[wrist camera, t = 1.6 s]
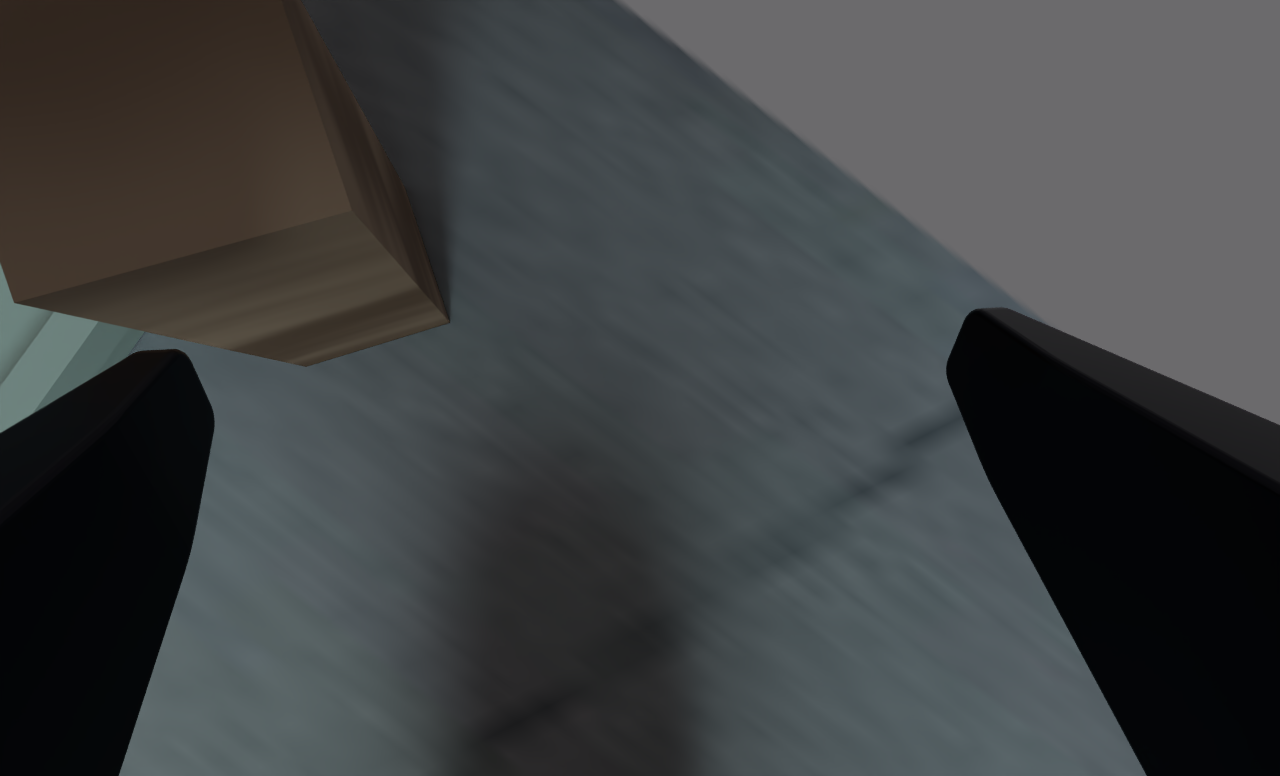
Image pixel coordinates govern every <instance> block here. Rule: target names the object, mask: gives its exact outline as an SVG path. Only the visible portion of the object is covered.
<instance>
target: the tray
mask: <svg viewBox="0 0 1280 776" xmlns="http://www.w3.org/2000/svg"><path fill="white" fill-rule="evenodd" d="M144 332H145V331H140V330H135V329H131V328H126V327H122V326H117V325H112V324H108V323H103V322H99V321H94V320H90V319H85V318H80V317H76V316H71V315H67V314H62V313H57V312H53V311H48V310H44V309H39V308H35V307H30V306H25V305H21V304H16V303H14V302H13V299H12V296H11V293H10V290H9V287H8V284H7V281H6V278H5V275H4V272H3V269H2V267H1V264H0V433H1V432H2V431H4V430H6V429H7V428H9V427H11V426H12V425H14V424H16V423H17V422H19V421H21V420H22V419H24V418H26V417H28V416H29V415H31V414H33V413H34V412H36V411H38V410H39V409H41V408H43V407H44V406H46V405H48V404H49V403H51V402H53V401H54V400H56V399H58V398H59V397H61V396H63V395H64V394H66V393H68V392H69V391H71V390H73V389H74V388H76V387H78V386H79V385H81V384H83V383H84V382H86V381H88V380H89V379H91V378H93V377H95V376H96V375H98V374H100V373H101V372H103V371H105V370H106V369H108V368H110V367H111V366H113V365H115V364H116V363H118V362H120V361H121V360H123V359H125V358H126V357H127V356H128V355H129V353H130V352H131V350H132V349H133V348H134V346H135V345H136V343H137V342H138V340H139V339H140V338H141V336H142V335H143V333H144Z"/></svg>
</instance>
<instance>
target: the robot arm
mask: <svg viewBox="0 0 1280 776" xmlns="http://www.w3.org/2000/svg"><path fill="white" fill-rule="evenodd" d="M946 374H947V379H948V383H949V385H950V388H951V390H952V392H953V395H954V397H955V400H956V402H957V405H958V407H959V410H960V412H961V415H962V417H963V420H964V422H965V425H966V427H967V430H968V432H969V435H970V437H971V440H972V442H973V444H974V447H975V449H976V452H977V454H978V457H979V459H980V462H981V464H982V466H983V469H984V471H985V473H986V476H987V478H988V480H989V482H990V484H991V486H992V488H993V490H994V492H995V494H996V496H997V498H998V500H999V502H1000V503H1001V505H1002V507H1003V509H1004V511H1005V513H1006V515H1007V516H1008V518H1009V520H1010V522H1011V524H1012V526H1013V528H1014V529H1015V531H1016V533H1017V535H1018V537H1019V539H1020V541H1021V542H1022V544H1023V546H1024V548H1025V550H1026V552H1027V554H1028V556H1029V557H1030V559H1031V561H1032V563H1033V565H1034V567H1035V569H1036V570H1037V572H1038V574H1039V576H1040V578H1041V580H1042V582H1043V583H1044V585H1045V587H1046V589H1047V591H1048V593H1049V595H1050V597H1051V598H1052V600H1053V602H1054V604H1055V606H1056V608H1057V610H1058V611H1059V613H1060V615H1061V617H1062V619H1063V621H1064V623H1065V624H1066V626H1067V628H1068V630H1069V632H1070V634H1071V636H1072V637H1073V639H1074V641H1075V643H1076V645H1077V647H1078V649H1079V651H1080V652H1081V654H1082V656H1083V658H1084V660H1085V662H1086V664H1087V665H1088V667H1089V669H1090V671H1091V673H1092V675H1093V677H1094V678H1095V680H1096V682H1097V684H1098V686H1099V688H1100V690H1101V692H1102V693H1103V695H1104V697H1105V699H1106V701H1107V703H1108V705H1109V706H1110V708H1111V710H1112V712H1113V714H1114V716H1115V718H1116V719H1117V721H1118V723H1119V725H1120V727H1121V729H1122V731H1123V732H1124V734H1125V736H1126V738H1127V740H1128V742H1129V744H1130V746H1131V747H1132V749H1133V751H1134V753H1135V755H1136V757H1137V759H1138V760H1139V762H1140V764H1141V766H1142V768H1143V770H1144V772H1145V773H1146V775H1147V776H1280V425H1278V424H1276V423H1274V422H1271V421H1269V420H1267V419H1264V418H1262V417H1259V416H1257V415H1255V414H1253V413H1250V412H1248V411H1246V410H1243V409H1241V408H1239V407H1236V406H1234V405H1232V404H1229V403H1227V402H1225V401H1222V400H1220V399H1218V398H1216V397H1213V396H1211V395H1209V394H1206V393H1204V392H1202V391H1199V390H1197V389H1195V388H1192V387H1190V386H1187V385H1185V384H1183V383H1181V382H1178V381H1176V380H1174V379H1171V378H1169V377H1167V376H1164V375H1162V374H1160V373H1157V372H1155V371H1153V370H1150V369H1148V368H1146V367H1143V366H1141V365H1138V364H1136V363H1134V362H1132V361H1129V360H1127V359H1125V358H1122V357H1120V356H1118V355H1115V354H1113V353H1111V352H1109V351H1106V350H1104V349H1102V348H1099V347H1097V346H1095V345H1092V344H1090V343H1088V342H1085V341H1083V340H1081V339H1078V338H1076V337H1074V336H1071V335H1069V334H1067V333H1064V332H1062V331H1060V330H1057V329H1055V328H1053V327H1050V326H1048V325H1046V324H1043V323H1041V322H1039V321H1036V320H1034V319H1032V318H1029V317H1027V316H1025V315H1023V314H1020V313H1018V312H1016V311H1013V310H1011V309H1008V308H1002V307H999V308H981V309H975V310H973V311H971V312H970V313H969V314H968V315H967V316H966V318H965V320H964V322H963V325H962V327H961V329H960V332H959V334H958V336H957V339H956V341H955V344H954V346H953V348H952V351H951V353H950V356H949V358H948V361H947V366H946ZM214 423H215V421H214V413H213V409H212V406H211V404H210V402H209V400H208V397H207V395H206V393H205V391H204V388H203V386H202V384H201V382H200V380H199V377H198V375H197V373H196V371H195V369H194V366H193V364H192V362H191V360H190V359H189V357H188V356H187V355H186V354H185V353H184V352H182V351H180V350H178V349H167V350H147V351H139V352H135V353H133V354H131V355H130V356H128V357H126V358H125V359H123V360H121V361H120V362H118V363H116V364H115V365H113V366H111V367H110V368H108V369H106V370H105V371H103V372H101V373H100V374H98V375H96V376H95V377H93V378H91V379H89V380H88V381H86V382H84V383H83V384H81V385H79V386H78V387H76V388H74V389H73V390H71V391H69V392H68V393H66V394H64V395H63V396H61V397H59V398H58V399H56V400H54V401H53V402H51V403H49V404H48V405H46V406H44V407H43V408H41V409H39V410H38V411H36V412H34V413H33V414H31V415H29V416H28V417H26V418H24V419H22V420H21V421H19V422H17V423H16V424H14V425H12V426H11V427H9V428H7V429H6V430H4V431H2V432H1V433H0V776H119V773H120V770H121V767H122V764H123V761H124V758H125V755H126V752H127V749H128V746H129V742H130V739H131V736H132V733H133V730H134V727H135V724H136V721H137V718H138V715H139V712H140V709H141V705H142V702H143V699H144V696H145V693H146V690H147V687H148V684H149V681H150V678H151V675H152V672H153V669H154V665H155V662H156V659H157V656H158V653H159V650H160V647H161V644H162V641H163V638H164V635H165V632H166V628H167V625H168V622H169V619H170V616H171V613H172V610H173V607H174V604H175V601H176V598H177V595H178V591H179V588H180V585H181V582H182V579H183V576H184V573H185V570H186V566H187V563H188V559H189V556H190V553H191V548H192V544H193V539H194V535H195V530H196V525H197V519H198V514H199V509H200V503H201V498H202V493H203V487H204V482H205V476H206V471H207V466H208V460H209V455H210V449H211V444H212V439H213V433H214Z"/></svg>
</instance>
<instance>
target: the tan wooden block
mask: <svg viewBox="0 0 1280 776" xmlns="http://www.w3.org/2000/svg"><path fill="white" fill-rule="evenodd" d="M0 264H1V267H2V269H3V272H4V275H5V278H6V281H7V284H8V287H9V290H10V293H11V296H12V299H13V302H14V303H16V304H21V305H25V306H30V307H35V308H39V309H44V310H48V311H53V312H57V313H62V314H67V315H71V316H76V317H80V318H85V319H90V320H94V321H99V322H103V323H108V324H112V325H117V326H122V327H126V328H131V329H135V330H140V331H145V332H149V333H154V334H158V335H163V336H168V337H172V338H177V339H181V340H186V341H190V342H195V343H200V344H204V345H209V346H213V347H218V348H223V349H227V350H232V351H236V352H241V353H245V354H250V355H255V356H259V357H264V358H268V359H273V360H278V361H282V362H287V363H291V364H296V365H301V366H305V367H307V366H310V365H313V364H316V363H320V362H323V361H326V360H330V359H333V358H336V357H339V356H343V355H346V354H349V353H352V352H356V351H359V350H362V349H366V348H369V347H372V346H375V345H379V344H382V343H385V342H388V341H392V340H395V339H398V338H402V337H405V336H408V335H411V334H415V333H418V332H421V331H425V330H428V329H431V328H434V327H438V326H441V325H444V324H447V323H450V321H449V318H448V315H447V312H446V309H445V306H444V303H443V300H442V297H441V294H440V291H439V288H438V285H437V282H436V279H435V276H434V273H433V270H432V267H431V264H430V261H429V258H428V255H427V252H426V249H425V247H424V244H423V241H422V238H421V235H420V232H419V229H418V226H417V223H416V220H415V217H414V214H413V211H412V208H411V205H410V202H409V199H408V196H407V193H406V190H405V187H404V185H403V183H402V182H401V180H400V178H399V176H398V174H397V173H396V171H395V169H394V167H393V165H392V164H391V162H390V160H389V158H388V156H387V155H386V153H385V151H384V149H383V147H382V146H381V144H380V142H379V140H378V138H377V137H376V135H375V133H374V131H373V129H372V127H371V126H370V124H369V122H368V120H367V118H366V117H365V115H364V113H363V111H362V109H361V108H360V106H359V104H358V102H357V100H356V99H355V97H354V95H353V93H352V91H351V90H350V88H349V86H348V84H347V82H346V81H345V79H344V77H343V75H342V73H341V72H340V70H339V68H338V66H337V64H336V63H335V61H334V59H333V57H332V55H331V54H330V52H329V50H328V48H327V46H326V45H325V43H324V41H323V39H322V37H321V36H320V34H319V32H318V30H317V28H316V27H315V25H314V23H313V21H312V19H311V18H310V16H309V14H308V12H307V10H306V9H305V7H304V5H303V3H302V1H301V0H0Z"/></svg>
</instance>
